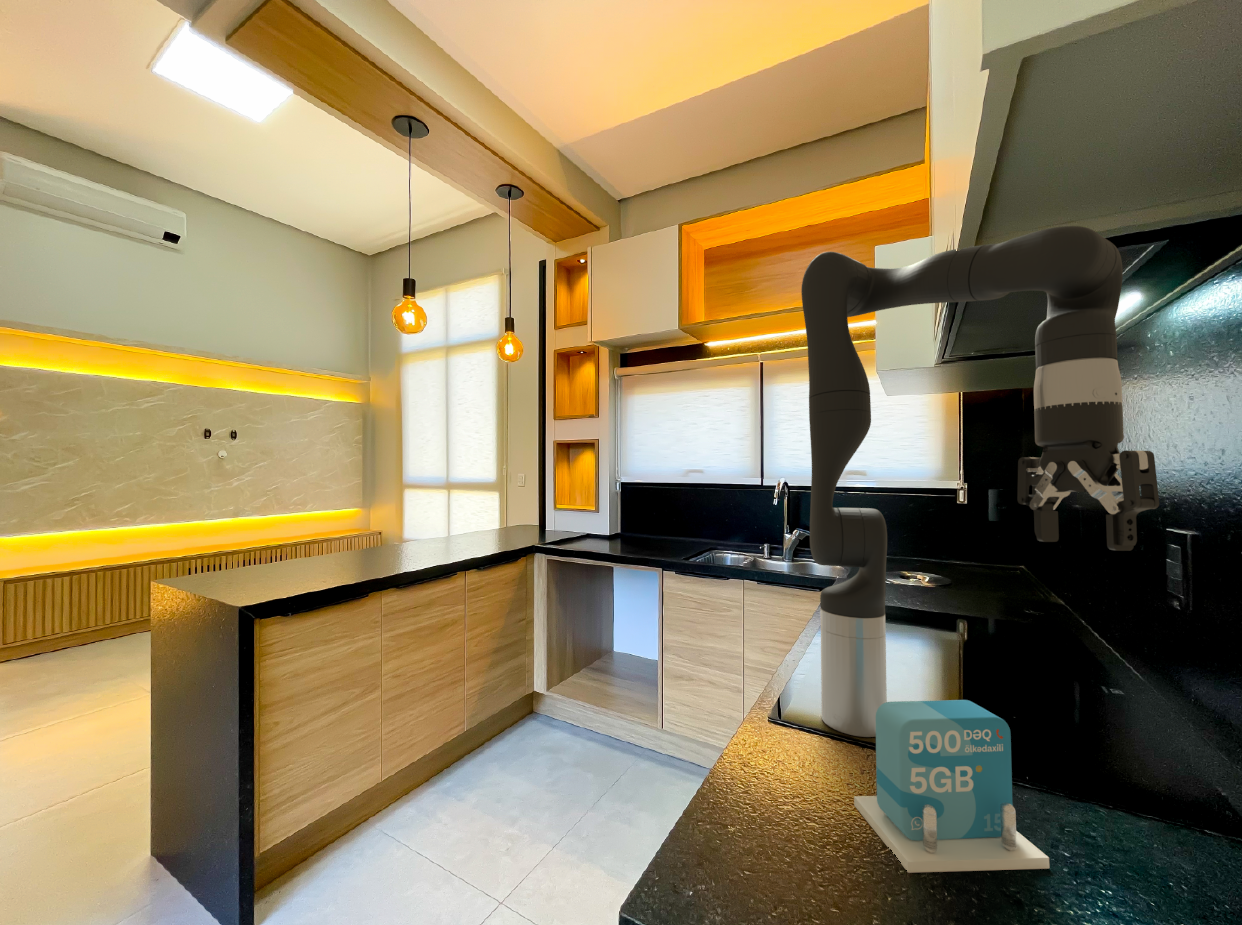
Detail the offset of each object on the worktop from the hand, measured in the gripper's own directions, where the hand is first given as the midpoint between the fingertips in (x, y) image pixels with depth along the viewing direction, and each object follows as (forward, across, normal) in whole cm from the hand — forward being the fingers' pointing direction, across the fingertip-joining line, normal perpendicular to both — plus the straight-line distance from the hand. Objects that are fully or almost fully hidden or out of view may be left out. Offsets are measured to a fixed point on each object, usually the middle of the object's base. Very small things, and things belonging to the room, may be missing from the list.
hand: (1081, 545), depth 57 cm
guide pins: (+30, -2, +18) cm, 35 cm away
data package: (+29, -2, +18) cm, 35 cm away
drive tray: (+30, -2, +18) cm, 35 cm away
